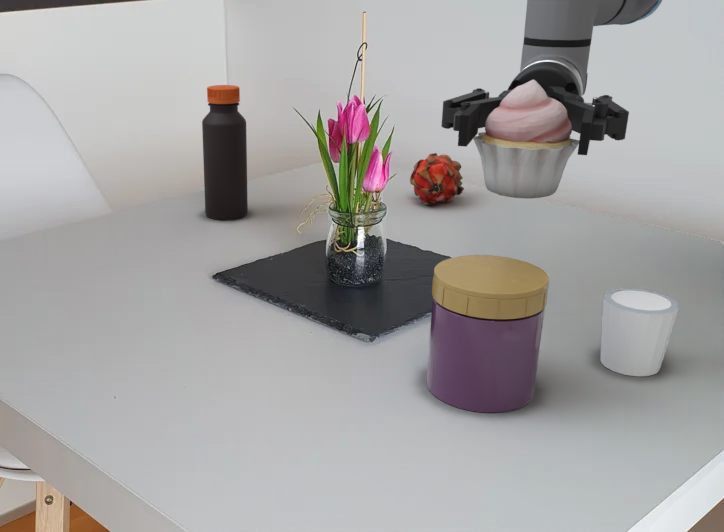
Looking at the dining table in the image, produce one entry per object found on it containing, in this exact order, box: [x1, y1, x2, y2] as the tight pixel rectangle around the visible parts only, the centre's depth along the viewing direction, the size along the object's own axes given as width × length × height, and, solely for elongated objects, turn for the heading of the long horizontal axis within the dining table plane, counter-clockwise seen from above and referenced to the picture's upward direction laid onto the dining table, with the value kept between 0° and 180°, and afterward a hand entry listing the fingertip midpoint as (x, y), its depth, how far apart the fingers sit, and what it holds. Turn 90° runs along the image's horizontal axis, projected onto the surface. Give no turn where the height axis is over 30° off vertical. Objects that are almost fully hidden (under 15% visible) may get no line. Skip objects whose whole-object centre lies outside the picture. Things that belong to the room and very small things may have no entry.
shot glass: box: [599, 287, 680, 377], centre depth 83 cm, size 7×7×7 cm
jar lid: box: [431, 254, 550, 319], centre depth 76 cm, size 10×10×2 cm
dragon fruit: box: [409, 152, 465, 206], centre depth 140 cm, size 8×8×12 cm
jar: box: [426, 296, 546, 414], centre depth 78 cm, size 10×10×11 cm
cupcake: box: [472, 80, 580, 199], centre depth 76 cm, size 9×9×10 cm
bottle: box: [201, 84, 249, 221], centre depth 130 cm, size 7×7×20 cm
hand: (522, 134), depth 71 cm, fingers closed on cupcake, 9 cm apart
